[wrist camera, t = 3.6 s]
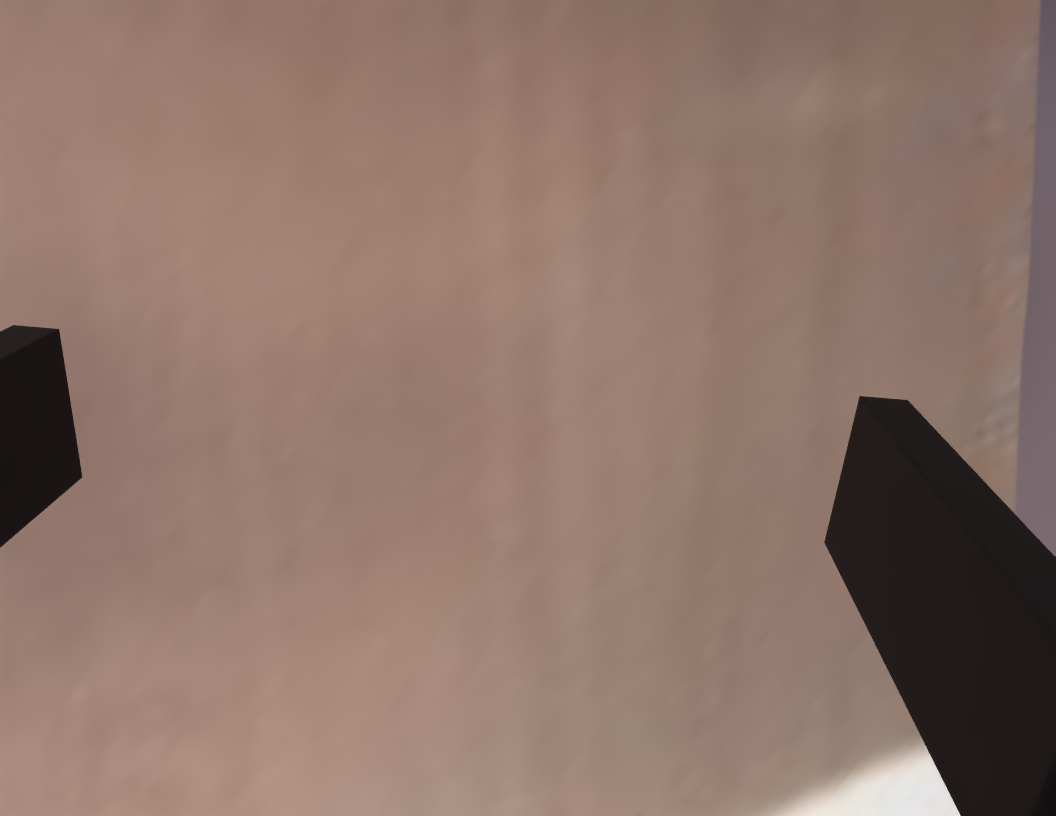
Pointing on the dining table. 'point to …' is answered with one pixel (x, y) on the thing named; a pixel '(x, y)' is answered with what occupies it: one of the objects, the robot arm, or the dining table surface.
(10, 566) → the dining table surface
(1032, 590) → the robot arm
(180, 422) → the dining table surface
